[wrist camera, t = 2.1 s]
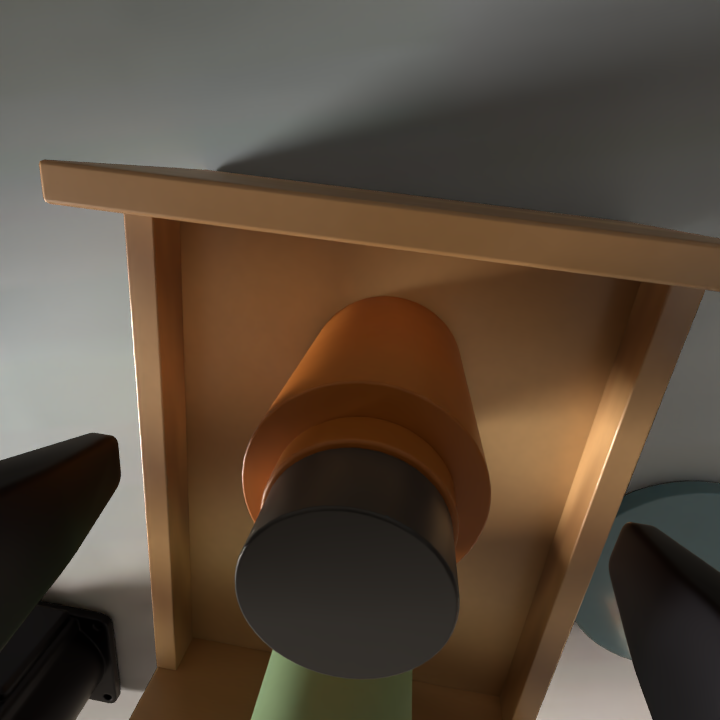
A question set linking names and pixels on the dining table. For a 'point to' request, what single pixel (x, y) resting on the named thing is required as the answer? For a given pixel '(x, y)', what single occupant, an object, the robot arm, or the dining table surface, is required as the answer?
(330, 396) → the amber bottle
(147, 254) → the spice rack
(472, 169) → the dining table surface
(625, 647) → the coaster
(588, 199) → the dining table surface
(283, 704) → the green bottle
